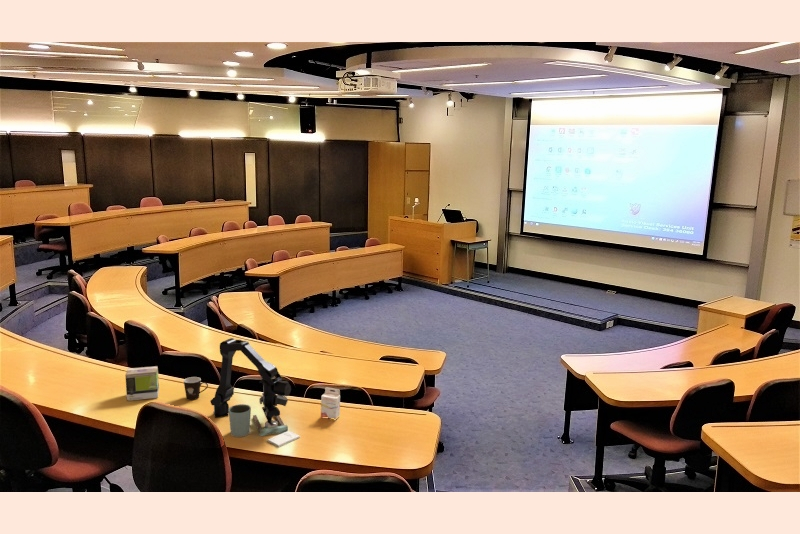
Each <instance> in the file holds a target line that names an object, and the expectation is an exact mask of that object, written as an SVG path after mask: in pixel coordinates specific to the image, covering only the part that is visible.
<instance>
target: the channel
mask: <svg viewBox="0 0 800 534" xmlns="http://www.w3.org/2000/svg"><path fill="white" fill-rule="evenodd" d="M274 417H275V419H276V421H277V422H278V426H277V427H270V428H265V427H264V428H263V427H262V425H261V423H260V421H259V420H260V419H259V418H258V416H257V414H254V415H252V419H253V422H254V421H255V422H254V424H255V426H256V427H257V428H256V429H257V431H258V434H259V437H262V436H269V435H276V434H282V433H284V432H287V431H289V430H288V428H289V426H288V425H287V424H285V423H284V421H283V419H282V417H281V415H279V416H274Z"/></svg>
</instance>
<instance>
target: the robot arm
mask: <svg viewBox="0 0 800 534" xmlns="http://www.w3.org/2000/svg"><path fill="white" fill-rule="evenodd" d="M239 351H240V352H241V353H242V354H243V355H244V356H245V357H246V358H247V359H248V360H249V361H250V362H251V363H252V364H253V366H255V367H256V369H257V372H258V374H259V376H260V377H261V379H260V380H259V382H258V383H259V384H262V386H263V387H262V388H263V390H262V391H263V393H262V395H261V397H260V398H259V404H260V405H263V406H262V407H261V410H262V412H263V414H264V416H265V418H266V422H267V421H269V420H273V417H275V416H281V411H280V409H279V407H277V406H283V407H286V406H287V404H288V401H289V400H288V398H287V397H289V395H290V394H291V391H292V386H291V384H290V382H289V381H288V380H283V377H282V376H281V373H279V371H278V368H277V366H275V365H274V364H273V363H272V362H269V361H266V360H265V359H264V358H263V357H262V355H260V354H259V353H258V352H257V351H256V349H254V348H253V347H252V345H250V342H249V341H247V340H241V339H235V338H232V337H229V338H227V339H226V340H223V341H221V342H220V343H219V353H220V355H221V367H220V376H219V377H220V378H219V385H218V386H217V388H216V390H215V392H214V397H212V399H211V400H210V404H211V406H213V415H214V418H221V417H222V418H223V417H229V411H228V410H229V408H230V406H229V405H230V404H229V401H231V398H232V397H233V395H235V393H234V390H235V387H234V386H232V385H231V378H232V369H233V368H232V367H233V360H234V359H233V358H234V356H235V354H236V352H239Z"/></svg>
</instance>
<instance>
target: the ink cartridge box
mask: <svg viewBox="0 0 800 534" xmlns="http://www.w3.org/2000/svg"><path fill="white" fill-rule="evenodd" d="M324 390H325V391H324V393H323V394H322V395H321V398H320V399H321V401H320V418H321V417H328V418H334V419H336V418H337V417H338V416H339V415H340V413H341V412H340V411H341V391H340V389H339V388H333V387H324ZM339 417H340V416H339Z"/></svg>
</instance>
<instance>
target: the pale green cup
mask: <svg viewBox="0 0 800 534" xmlns="http://www.w3.org/2000/svg"><path fill="white" fill-rule="evenodd" d="M251 408H252V407H251V406H250V405H249V404H244V403H243V404H235V405H231V406H229V410H228V411H229V413H228V417H229V418H228V419H229V428H230V435H231V436H232V437H236V438H241V437H245V436H246V437H247V436H248V435H249V434H250V433H251V414H252V413H251V412H252V409H251Z"/></svg>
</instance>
